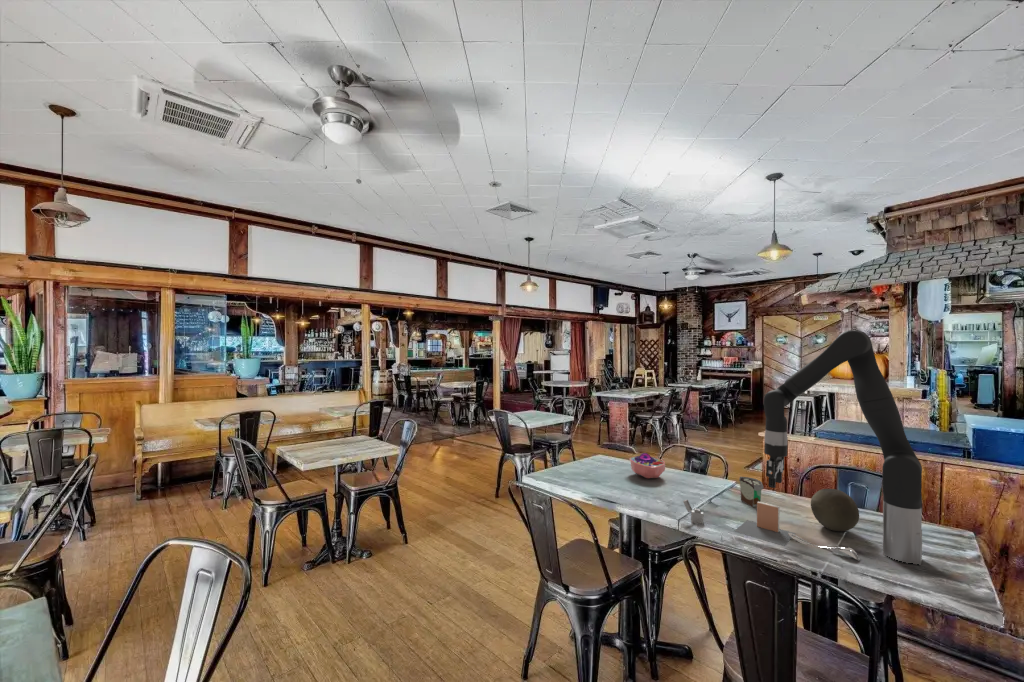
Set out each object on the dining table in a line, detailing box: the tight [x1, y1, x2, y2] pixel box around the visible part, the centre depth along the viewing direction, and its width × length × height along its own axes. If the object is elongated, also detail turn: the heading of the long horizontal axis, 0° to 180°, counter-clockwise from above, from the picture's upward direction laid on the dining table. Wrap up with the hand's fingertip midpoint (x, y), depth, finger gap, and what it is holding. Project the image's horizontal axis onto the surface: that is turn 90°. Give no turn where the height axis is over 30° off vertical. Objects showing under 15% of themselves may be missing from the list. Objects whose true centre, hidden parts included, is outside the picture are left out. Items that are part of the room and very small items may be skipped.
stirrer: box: [788, 532, 860, 561], centre depth 145 cm, size 20×4×5 cm
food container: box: [738, 476, 764, 508], centre depth 185 cm, size 12×6×10 cm, turn 0°
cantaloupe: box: [810, 488, 860, 532], centre depth 159 cm, size 14×14×15 cm
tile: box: [756, 501, 780, 532], centre depth 159 cm, size 7×2×9 cm, turn 44°
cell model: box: [629, 452, 666, 479], centre depth 221 cm, size 17×20×11 cm
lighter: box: [682, 499, 705, 525], centre depth 166 cm, size 7×2×8 cm, turn 53°
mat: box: [734, 519, 796, 547], centre depth 157 cm, size 16×14×1 cm
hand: (775, 484), depth 166 cm, fingers open, 7 cm apart
